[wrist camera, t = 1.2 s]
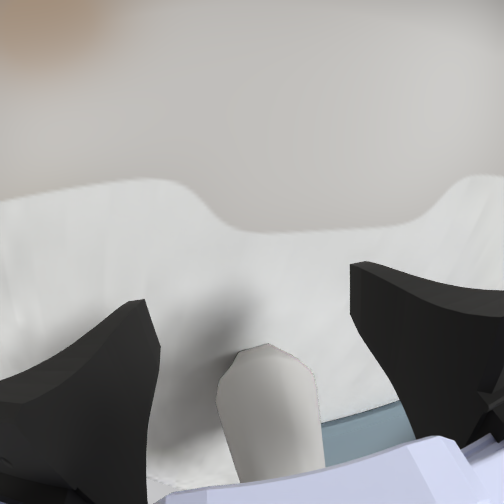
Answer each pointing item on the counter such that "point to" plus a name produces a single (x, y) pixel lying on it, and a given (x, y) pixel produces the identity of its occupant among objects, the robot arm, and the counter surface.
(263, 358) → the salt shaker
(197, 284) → the counter surface
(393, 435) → the tray
